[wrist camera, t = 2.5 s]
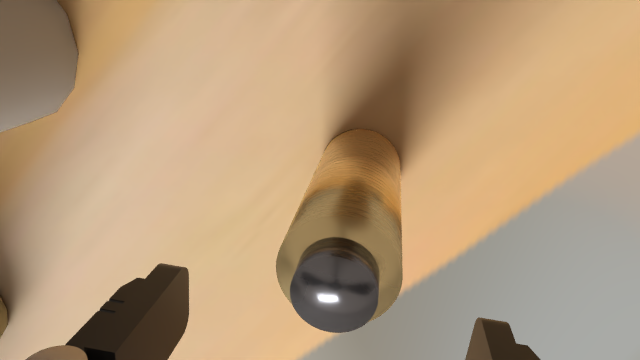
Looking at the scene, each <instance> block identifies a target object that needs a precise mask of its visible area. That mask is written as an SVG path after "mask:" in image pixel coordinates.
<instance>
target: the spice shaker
mask: <svg viewBox="0 0 640 360" xmlns="http://www.w3.org/2000/svg"><path fill="white" fill-rule="evenodd" d="M276 272H277V278H278V282H279V284H280V287H281V289H282V291H283V293H284V294H285V296H286V297H287V299H288V300H289V301H290V302H291V303H292V305H293V307H294V309H295V310H296V312H297V313H298V314H299V316H300V317H301V318H302V319H303V320H305V321H306V322H307V323H308V324H310V325H312V326H313V327H315V328H318V329H320V330H323V331H327V332H335V333H341V332H349V331H352V330H355V329H358V328H360V327H362V326H363V325H365V324H366V323H367V322H369V321H371V320H374V319H376V318H377V317H379V316H381V315H382V314H383V313H384V312H386V311H387V310H388V309H389V308H390V307H391V306H392V304H393V303H394V302H395V300H396V298H397V296H398V294H399V292H400V289H401V285H402V227H401V179H400V160H399V156H398V153H397V151H396V149H395V148H394V146H393V145H392V144H391V142H390V141H389V140H388V139H387V138H385V137H384V136H382V135H381V134H379V133H377V132H374V131H371V130H366V129H355V130H350V131H346V132H344V133H342V134H340V135H338V136H337V137H335V138H334V139H333V140H332V141H331V142H330V143H329V145H328V146H327V148H326V150H325V152H324V154H323V156H322V158H321V160H320V162H319V165H318V167H317V169H316V171H315V173H314V175H313V178H312V180H311V182H310V184H309V186H308V188H307V191H306V193H305V195H304V197H303V199H302V201H301V204H300V206H299V208H298V210H297V212H296V215H295V217H294V219H293V221H292V223H291V225H290V228H289V230H288V232H287V234H286V236H285V238H284V241H283V243H282V245H281V247H280V250H279V252H278V256H277V261H276Z"/></svg>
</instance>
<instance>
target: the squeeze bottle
mask: <svg viewBox="0 0 640 360" xmlns="http://www.w3.org/2000/svg"><path fill="white" fill-rule="evenodd" d="M7 325H8V320H7V309H6V307H5V305H4V303H3V301H2V299H1V297H0V338H1V336H2V334H3V332H4V330H5V328H6V326H7Z"/></svg>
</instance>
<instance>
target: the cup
mask: <svg viewBox="0 0 640 360" xmlns="http://www.w3.org/2000/svg"><path fill="white" fill-rule="evenodd" d="M77 60H78V50H77V47H76V43H75V40H74V36H73V33H72V30H71V26H70V23H69V19H68V16H67V14H66V12H65V11H64V10H63V8H62V7H61V6H60V4H59V3H58V2H57V0H0V132H3V131H6V130H9V129H12V128H15V127H18V126H21V125H23V124H26V123H29V122H32V121H34V120H37V119H40V118H42V117H45V116H47V115H50V114H53V113H55V112H57V111H58V109H59V108H60V107H61V105H62V104H63V103H64V101H65V100H66V98H67V97H68V96H69V94H70V93H71V91H72V90H73V89H74V85H75V77H76V69H77Z"/></svg>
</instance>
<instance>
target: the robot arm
mask: <svg viewBox="0 0 640 360" xmlns="http://www.w3.org/2000/svg"><path fill="white" fill-rule="evenodd" d="M188 317H189V273H188V269H187V268H185V267H179V266H173V265H168V264H162V263H161V264H158V265H157V266H156V267H155V269H154V270H153V271H152V272H151V273H150V274H149V275H148V276H147V277H146V279H142V278H136V279H135V280H133V281H131V282H129V283H127V284H125V285H123V286H122V287H120V288H119V289H118V290H117V292H116V293H115V294H114V295H113V296H112V297H111V298H110V299H109V301H107V302H106V303H105V304H104V305H103V306H102V307H101V308H100V311H97V312H96V313H95V314H94V315H93V316H92V317H91V319H90V320H89V321H88V322H87V323H86V324H85V325H84V326H83V327H82V328H81V329H80V330H79V331H78V332H77V333H76V334H75V335H74V336H73V337H72V338H71V339H70V340H69V341H68V342H67V343H66V345H62V346H54V347H50V348H46V349H44V350H41V351H39V352H37V353H35V354H33V355H31V356H30V357H28V358H27V359H26V360H167V359H168V358H169V356H170V355H171V353H172V352H173V350H174V348H175V347H176V345H177V344H178V342H179V341H180V339H181V337H182V336H183V334H184V332H185V329H186V326H187V323H188ZM465 360H540V359H539V358H538V357H537V356H536V354H535V353H534V352H533V351H532V350H531V349H530V348H529V347H528V346H527V345H520V344H516V342H515V339H514V337H513V334H512V331H511V328H510V325H509V324H508V323H507V322H502V321H496V320H491V319H485V318H477V320H476V322H475V325H474V329H473V333H472V336H471V341H470V344H469V348H468V352H467V355H466V359H465Z"/></svg>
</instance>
